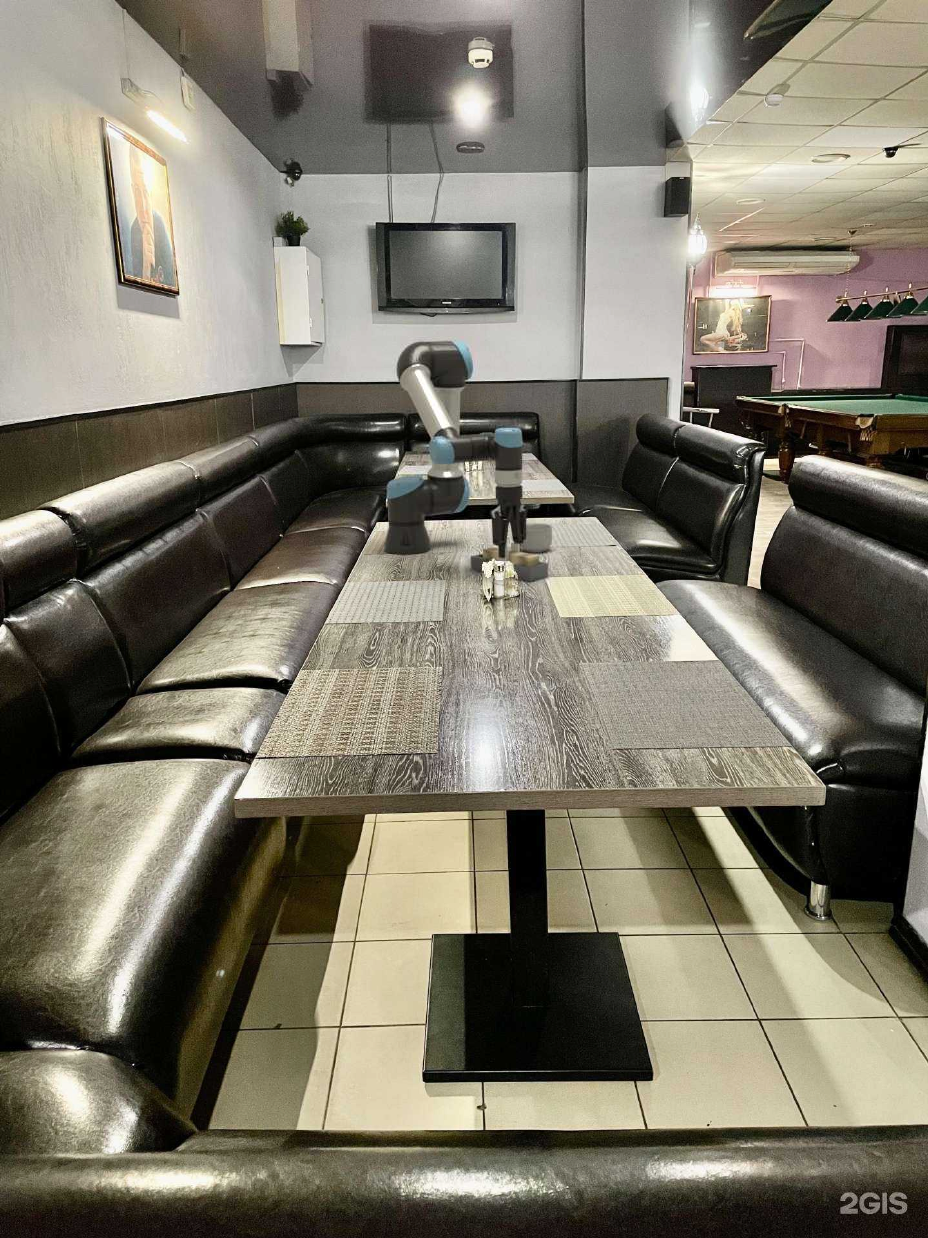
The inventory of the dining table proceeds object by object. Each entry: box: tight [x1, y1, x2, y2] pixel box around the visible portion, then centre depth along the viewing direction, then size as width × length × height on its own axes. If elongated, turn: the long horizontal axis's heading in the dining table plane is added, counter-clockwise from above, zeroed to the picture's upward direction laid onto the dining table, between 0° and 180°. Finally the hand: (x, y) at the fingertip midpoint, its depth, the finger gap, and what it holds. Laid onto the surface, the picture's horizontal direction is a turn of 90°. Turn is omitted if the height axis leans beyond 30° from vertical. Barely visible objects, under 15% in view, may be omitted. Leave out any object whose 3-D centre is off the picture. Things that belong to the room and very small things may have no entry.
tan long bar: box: [482, 547, 540, 567], centre depth 248 cm, size 18×4×5 cm, turn 44°
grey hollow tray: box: [514, 561, 549, 583], centre depth 243 cm, size 6×8×4 cm
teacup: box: [521, 522, 553, 554], centre depth 279 cm, size 14×11×8 cm
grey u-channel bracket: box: [470, 553, 488, 573], centre depth 255 cm, size 6×8×4 cm
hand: (509, 566), depth 249 cm, fingers closed on tan long bar, 4 cm apart
